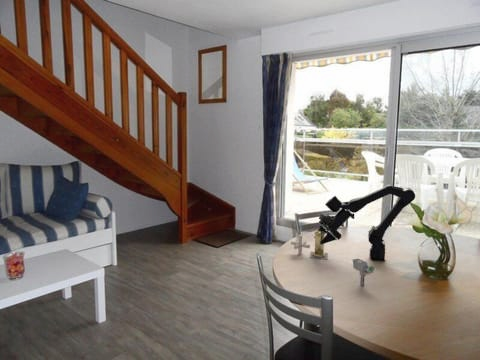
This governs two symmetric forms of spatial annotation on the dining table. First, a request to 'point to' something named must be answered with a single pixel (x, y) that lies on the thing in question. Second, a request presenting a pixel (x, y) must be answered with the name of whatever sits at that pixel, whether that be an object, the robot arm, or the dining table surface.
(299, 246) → the pipe connector
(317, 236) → the brass pedestal cup
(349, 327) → the dining table surface
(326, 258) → the mat
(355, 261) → the grey mottled tree figurine
